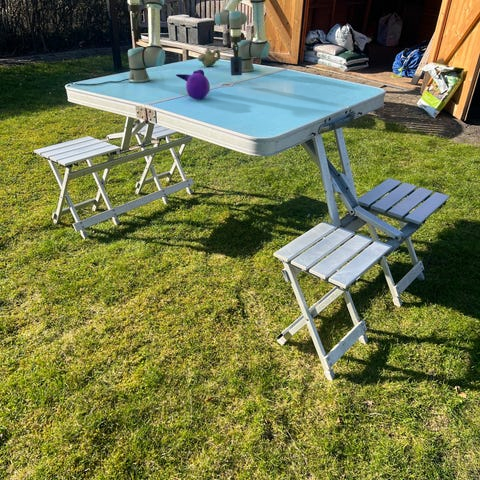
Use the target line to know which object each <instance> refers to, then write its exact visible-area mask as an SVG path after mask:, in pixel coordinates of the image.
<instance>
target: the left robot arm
mask: <svg viewBox="0 0 480 480" xmlns="http://www.w3.org/2000/svg"><path fill="white" fill-rule="evenodd" d="M126 1H127V10H128V12H131V14H130V15H131V28H132V29H131V31H132V33H133V41H134V43H140V40H141V41H142V40H143V39H142V30H141V29H142V26H141V20H140V15H139V12H140V11H141V6H145V8H146V9H147V31H148V32H147V34H148V36H147V37H148V39H147V41H148V44H147V45H146V48H144V47H143V46H139V47H134V48H130V49H128V50H127V57H128V66H129V76H128V78H124V79H122V80H108V81H104V82H99V83H76V82H71V83H70V84H72V85H75V86H76V85H77V86H98V85H99V86H100V85H103V84H108V83H109V84H110V83H122V82H125V81H128V82H129V83H133V84H141V83H148V82H150V76H149V74H148V71H147V67H163V65H165V61H166V51H165V49H164V48H163V46H162V44H161V11H160V10H162V8H163V5H165V0H126ZM73 83H75V84H73ZM70 86H71V85H69V84H67V87H70Z"/></svg>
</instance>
